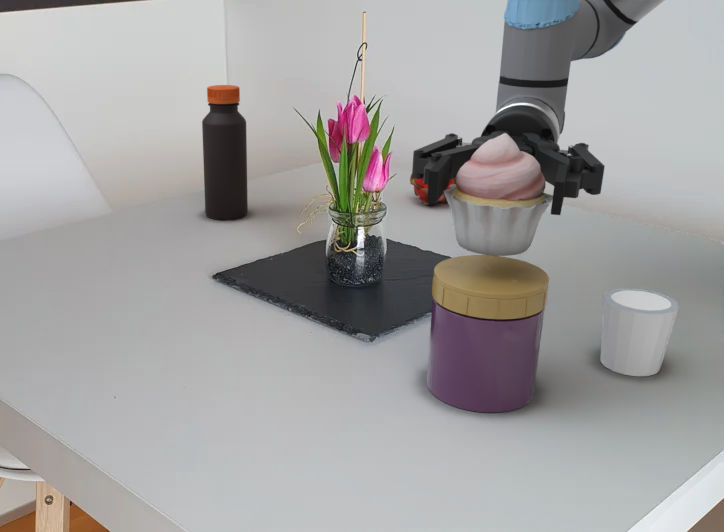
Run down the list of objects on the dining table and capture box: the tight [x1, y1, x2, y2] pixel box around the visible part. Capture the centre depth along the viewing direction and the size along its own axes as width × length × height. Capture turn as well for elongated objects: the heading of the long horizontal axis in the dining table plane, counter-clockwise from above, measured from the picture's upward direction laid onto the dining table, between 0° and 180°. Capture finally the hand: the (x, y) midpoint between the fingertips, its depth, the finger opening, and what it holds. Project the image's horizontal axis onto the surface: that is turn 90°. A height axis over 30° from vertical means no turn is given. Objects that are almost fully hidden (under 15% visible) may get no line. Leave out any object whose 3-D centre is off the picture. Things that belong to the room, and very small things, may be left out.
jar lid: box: [431, 254, 550, 319], centre depth 76 cm, size 10×10×2 cm
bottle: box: [201, 84, 249, 221], centre depth 130 cm, size 7×7×20 cm
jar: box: [426, 296, 546, 414], centre depth 78 cm, size 10×10×11 cm
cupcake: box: [443, 133, 553, 257], centre depth 73 cm, size 9×9×10 cm
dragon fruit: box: [409, 173, 456, 206], centre depth 140 cm, size 8×8×12 cm
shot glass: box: [599, 287, 680, 377], centre depth 83 cm, size 7×7×7 cm
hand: (493, 192), depth 69 cm, fingers closed on cupcake, 9 cm apart
